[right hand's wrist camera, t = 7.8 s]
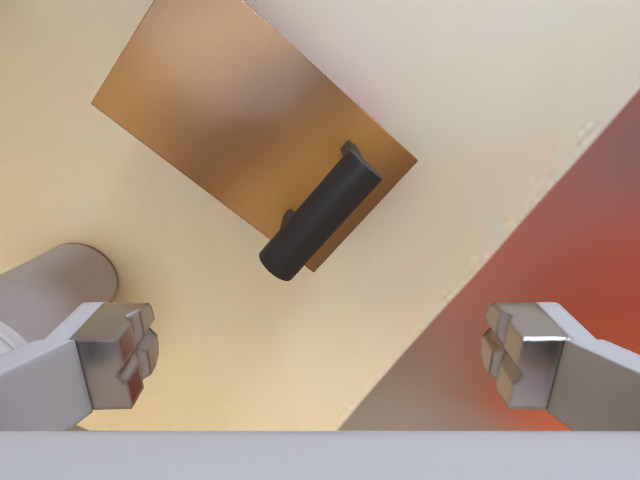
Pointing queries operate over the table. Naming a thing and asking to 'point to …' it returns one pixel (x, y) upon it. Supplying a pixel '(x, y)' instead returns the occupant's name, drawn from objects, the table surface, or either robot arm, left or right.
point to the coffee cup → (51, 292)
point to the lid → (253, 126)
